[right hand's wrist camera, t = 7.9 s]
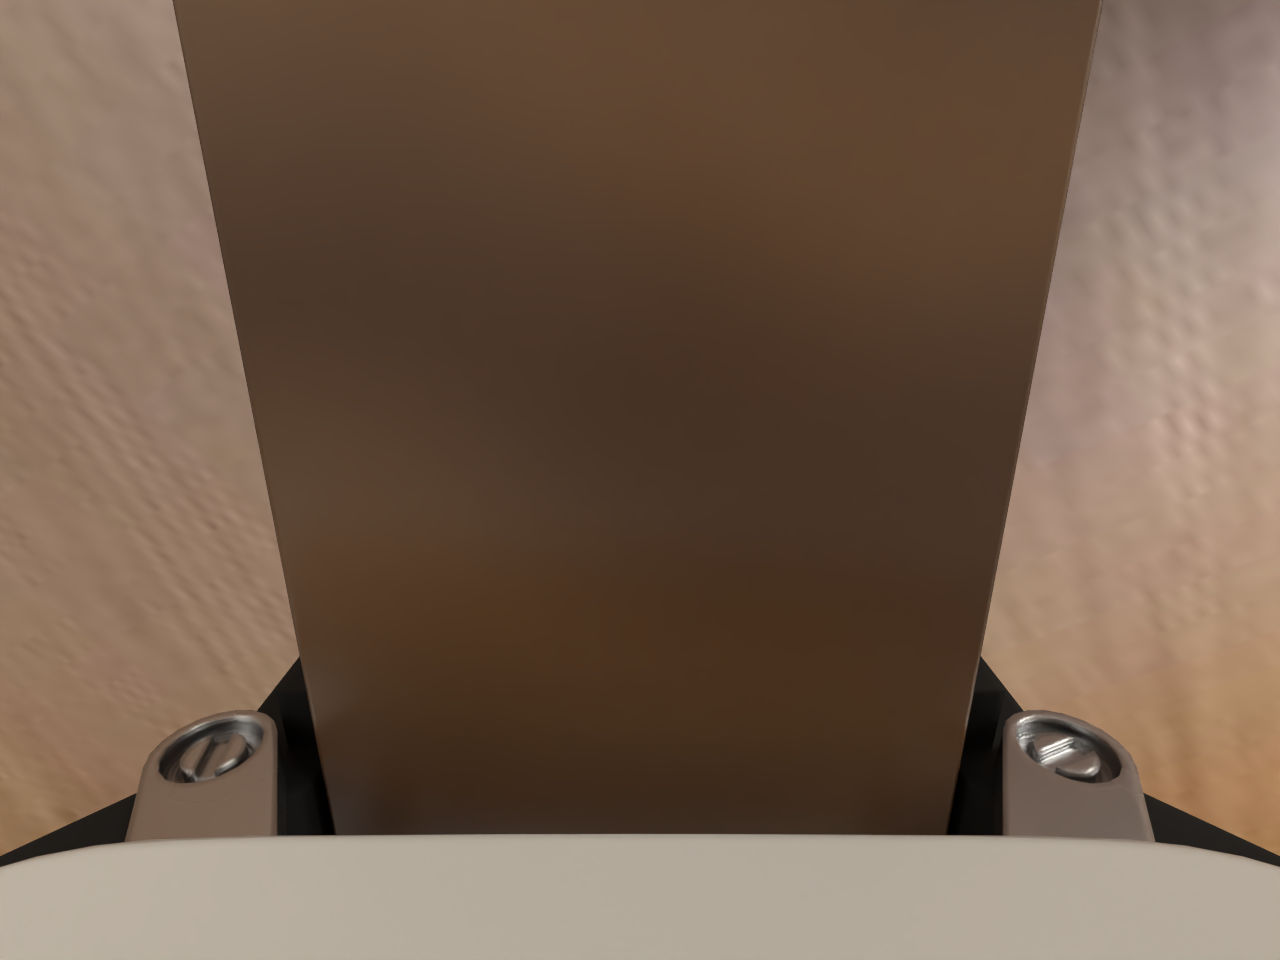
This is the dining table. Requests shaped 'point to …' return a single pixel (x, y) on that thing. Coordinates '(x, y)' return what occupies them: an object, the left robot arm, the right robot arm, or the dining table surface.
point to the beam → (639, 388)
